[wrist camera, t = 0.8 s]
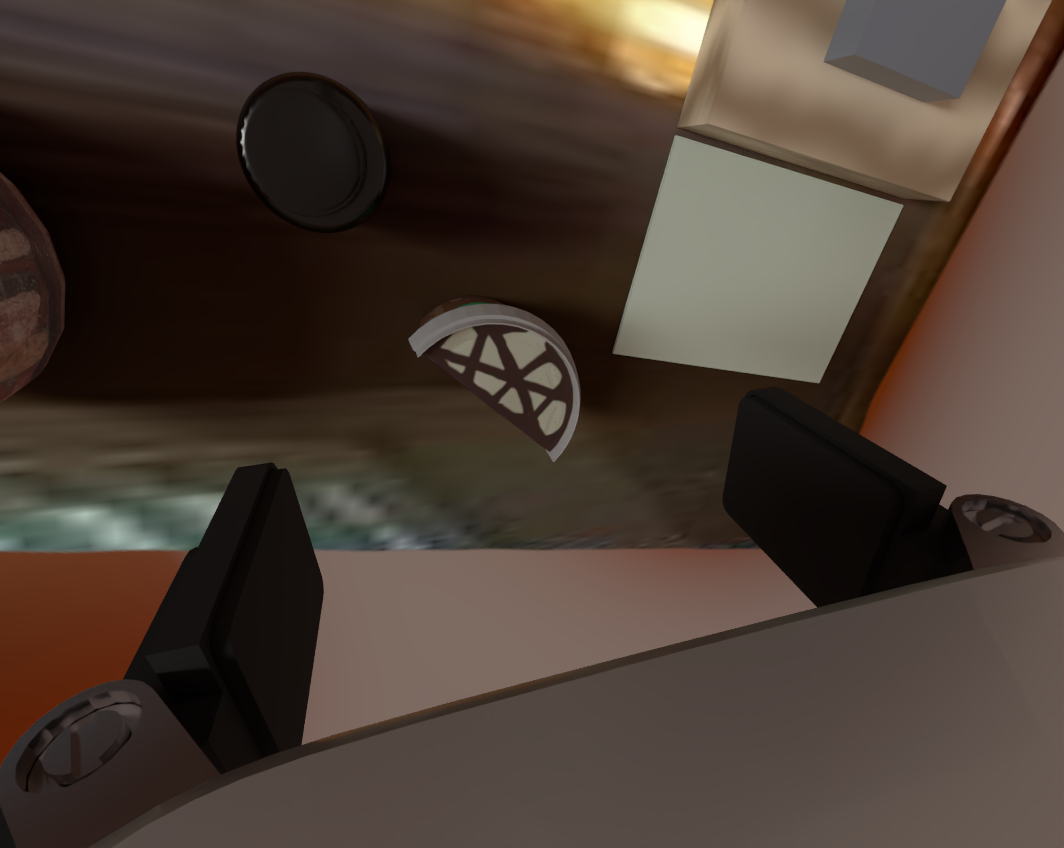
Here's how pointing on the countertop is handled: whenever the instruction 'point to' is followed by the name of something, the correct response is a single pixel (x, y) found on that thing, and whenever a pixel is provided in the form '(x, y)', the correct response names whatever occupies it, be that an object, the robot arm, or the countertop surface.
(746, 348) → the mat
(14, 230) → the pottery
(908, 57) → the grey flat block
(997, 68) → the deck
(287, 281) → the countertop surface
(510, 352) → the food container
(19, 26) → the countertop surface
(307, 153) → the supplement bottle
